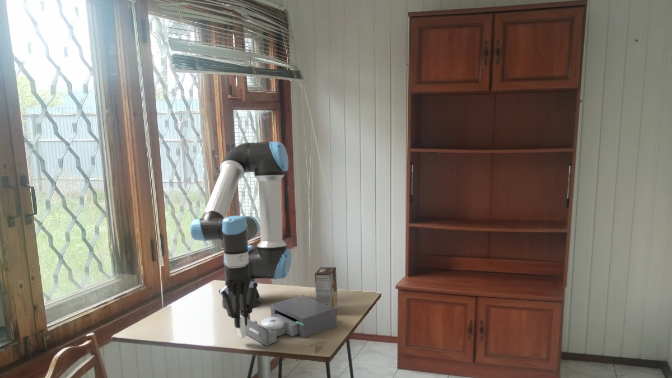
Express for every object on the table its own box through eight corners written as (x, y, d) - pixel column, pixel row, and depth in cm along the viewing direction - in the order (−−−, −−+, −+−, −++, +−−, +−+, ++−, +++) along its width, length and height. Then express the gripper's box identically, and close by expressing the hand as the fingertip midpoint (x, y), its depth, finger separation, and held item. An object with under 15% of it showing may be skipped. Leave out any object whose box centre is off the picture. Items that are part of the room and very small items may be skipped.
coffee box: (321, 307, 192) (320, 266, 190) (338, 307, 190) (336, 267, 189) (316, 315, 183) (314, 273, 181) (333, 316, 181) (331, 273, 180)
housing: (271, 322, 178) (270, 304, 177) (303, 312, 187) (302, 295, 186) (303, 338, 162) (302, 319, 162) (336, 326, 171) (336, 308, 171)
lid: (276, 319, 172) (276, 314, 172) (289, 325, 166) (289, 320, 166) (256, 325, 167) (256, 320, 167) (269, 332, 161) (268, 327, 161)
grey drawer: (243, 333, 168) (242, 319, 167) (277, 322, 176) (276, 309, 176) (265, 346, 157) (264, 331, 156) (300, 334, 165) (299, 320, 165)
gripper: (223, 271, 150) (228, 345, 152) (261, 263, 158) (265, 333, 160) (212, 266, 155) (217, 338, 158) (249, 259, 164) (253, 327, 166)
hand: (241, 336), depth 159 cm, fingers closed
